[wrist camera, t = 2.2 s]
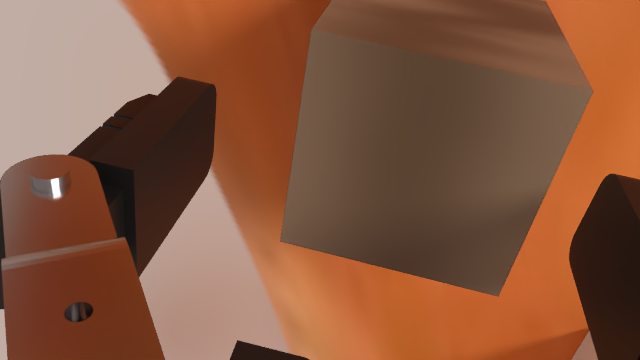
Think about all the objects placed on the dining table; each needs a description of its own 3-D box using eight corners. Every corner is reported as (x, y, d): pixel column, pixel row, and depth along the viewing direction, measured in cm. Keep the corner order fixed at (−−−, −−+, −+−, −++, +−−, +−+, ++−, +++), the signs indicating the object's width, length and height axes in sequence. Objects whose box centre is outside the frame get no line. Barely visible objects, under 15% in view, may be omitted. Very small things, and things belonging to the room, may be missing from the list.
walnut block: (545, 0, 15) (593, 90, 10) (485, 161, 17) (498, 296, 12) (358, -38, 15) (311, 29, 10) (328, 125, 18) (280, 241, 13)
